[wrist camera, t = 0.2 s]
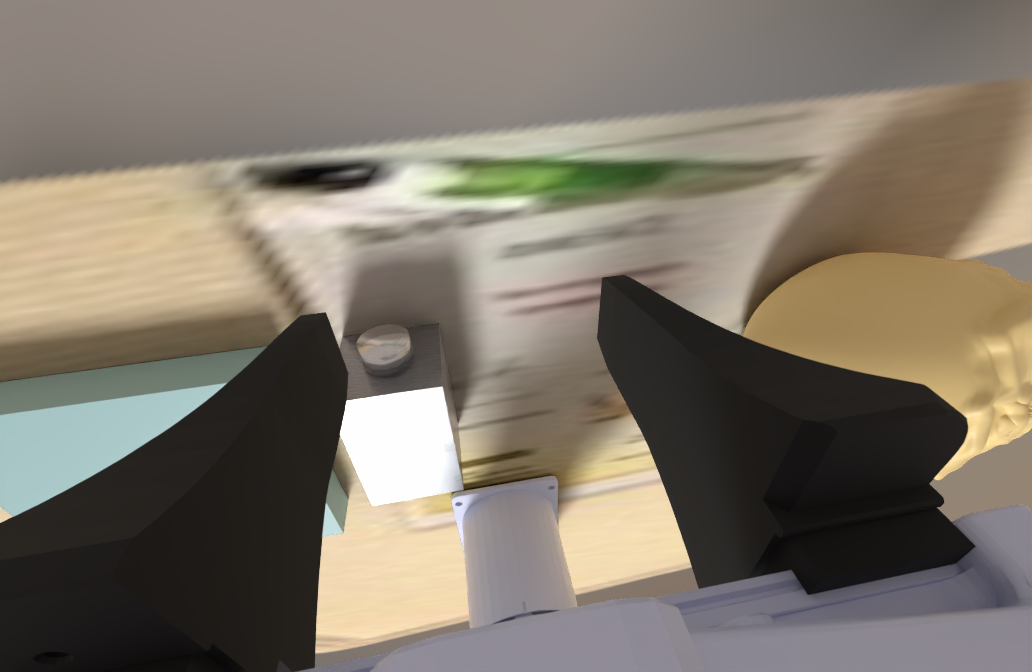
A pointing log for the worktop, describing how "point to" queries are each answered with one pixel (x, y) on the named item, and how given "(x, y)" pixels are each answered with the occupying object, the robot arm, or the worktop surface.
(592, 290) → the worktop surface
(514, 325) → the worktop surface
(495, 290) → the worktop surface
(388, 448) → the housing
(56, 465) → the stand
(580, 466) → the worktop surface
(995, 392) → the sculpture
